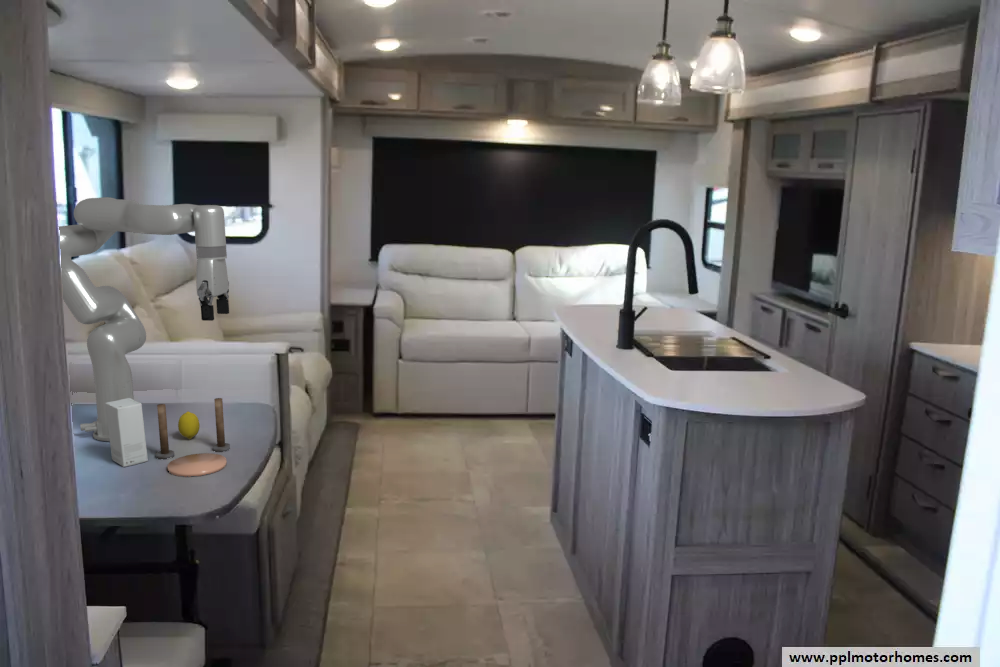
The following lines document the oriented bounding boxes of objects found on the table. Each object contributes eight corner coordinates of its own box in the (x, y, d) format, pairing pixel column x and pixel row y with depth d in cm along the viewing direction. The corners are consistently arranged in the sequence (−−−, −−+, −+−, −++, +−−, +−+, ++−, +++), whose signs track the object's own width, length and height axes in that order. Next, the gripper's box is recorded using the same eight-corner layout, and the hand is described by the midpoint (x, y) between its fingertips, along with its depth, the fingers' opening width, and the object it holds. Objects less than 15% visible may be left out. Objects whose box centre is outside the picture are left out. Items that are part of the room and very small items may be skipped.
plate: (169, 480, 198) (169, 476, 198) (166, 461, 211) (165, 457, 210) (230, 471, 204) (229, 468, 204) (223, 454, 216) (223, 450, 216)
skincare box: (148, 462, 210) (143, 403, 207) (121, 468, 206) (116, 408, 203) (135, 453, 216) (130, 396, 213) (109, 459, 212) (104, 401, 208)
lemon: (174, 440, 227) (172, 412, 225) (190, 434, 231) (188, 407, 230) (189, 443, 224) (187, 415, 222) (204, 437, 229) (203, 410, 227)
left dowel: (156, 460, 211) (152, 408, 208) (155, 455, 215) (151, 403, 212) (174, 458, 213) (171, 406, 210) (173, 452, 217) (169, 401, 214)
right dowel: (213, 453, 217) (210, 402, 214) (211, 447, 221) (208, 397, 218) (231, 450, 219) (228, 400, 216) (228, 445, 223) (226, 396, 220)
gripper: (211, 249, 224) (215, 311, 228) (182, 256, 207) (187, 322, 211) (238, 249, 224) (241, 311, 227) (211, 256, 207) (216, 323, 210)
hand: (215, 316), depth 219 cm, fingers open, 9 cm apart
